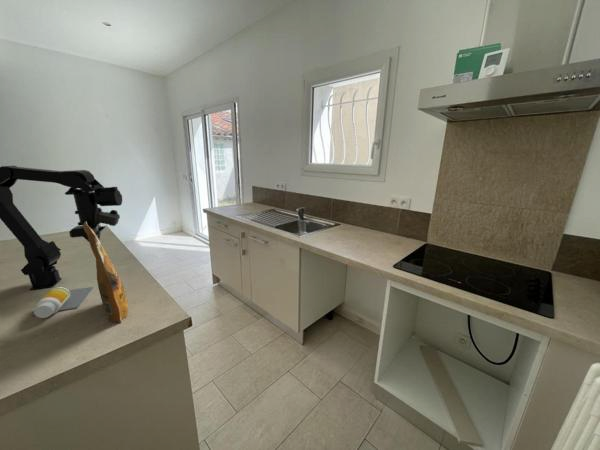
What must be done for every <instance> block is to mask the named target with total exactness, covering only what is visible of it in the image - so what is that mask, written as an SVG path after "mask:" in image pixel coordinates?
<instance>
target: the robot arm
mask: <svg viewBox="0 0 600 450" xmlns="http://www.w3.org/2000/svg"><path fill="white" fill-rule="evenodd" d="M18 180H21V181H31V182H32V181H33V182H42V183H43V182H44V183H55V184H59V185H62V186H64V187H68V190H67V191H65V193H64V194H65V195H66V196H67V195H68V196H70V195H73V198H74V204H75V207H76V210H75V211H74V214H75V215H78V219H79V221H78V222H77V226H74V227H73V228H71V229H70V230H69V232H68V233H69V236H70V238H73V239H74V238H84V239H85V240H86V242H88V243H89V244H90V242H89V240H88V236H87V233H86V232H85V231H84V229H83V224H84V223H85V222H87V225H88V226H89V227H90V228H91V229H92V230H93V231H94V233H95V235H96V236H97V238H98V239H99V241H100V242H101V233H102V231H103V230H105V228H106V226H102V225H101V224H105V225H109V226H113V227H115V226H117V224H119V220H120V218H121V215H120V214H119V213H118V211H117V210H116V209H111V210H110V211H109V212H108V211H103V209H102V208H101V207H112V206H113V207H115V206H116V207H117V206H121V205H122V204H123V196H122V193H121V192H120V190H119V189H118V186H110V187H107V186H106V187H105V186H104V185H103V184H102V183H100V181H98V180H97V179H96V178H95V176H94V175H93V173H92V172H90V171H89V170H86V169H77V170H76V169H75V170H54V169H53V170H51V169H45V168H44V169H42V168H32V167H24V166H23V167H22V166H17V165H2V166H0V220H1V221H2V223H3V224H4V225H5V227H7V229H8V230H9V231H10V233H12V235H14V237H15V238H16V239H17V240H18V242H19V243H20V244H21V245H22V247H23V250H24V251H23V252H24V253H23V254H24V257H25V259H26V261H27V263H26V264H25V265H24V266H23V267H22V268H21V269H20V272H22V274H23V275H24V276H28V278H29V281H30V283H31V287H29V291H33V290H41V289H46V288H52V287H55V286H56V285H57V284H58V283H59V282H60V281H61V280H62V277H61V276H60V273H59V270H58V269H57V268H56V266H55V265H57V263H58V260H60V258H61V255H62V253H61V250H62V249H61V248H59V247H58V245H56V243H55V241H53V240H51V241H50V242H48V241H46V240H44V239H43V238H42V237H41V236H40V235H39V234H38V233H37V231H36V230H35V228H34V227H33V226H32V225H31V224H30V223H29V221H28V219H26V218H25V216H24V215H23V214H22V212H21V211H20V210H19V209H18V208H17V206H16V205H15V203H14V198H13V197H14V194H13V192H12V191H11V188H12V187H14V185H15V184H16V183H17V182H18ZM98 205H99V206H100V207H99V206H98Z"/></svg>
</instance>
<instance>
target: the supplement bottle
mask: <svg viewBox="0 0 600 450" xmlns="http://www.w3.org/2000/svg"><path fill="white" fill-rule="evenodd" d="M69 290H70V289H68V288H65V287H60V286H57V287H54V288H51V289H50V290H49V291H48V292H47V293H46V294H45V295H44V296H43V297H42V298H41V299H40V300H39V301H38V302H37V304H36V306H35V308H34V311H33V312H34V314H35V317H38V318H40V319H45V318H48V317H51V316H52V315H53V314H56V313H58V312H57V311H58V310H59V309H60V308H61V307H62V306H63V305H64V303H65V302H66V301H67V300H68V299H69V297H70V292H69Z"/></svg>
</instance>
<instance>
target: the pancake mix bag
mask: <svg viewBox="0 0 600 450" xmlns="http://www.w3.org/2000/svg"><path fill="white" fill-rule="evenodd" d="M82 226H83V229H84V231H85V232H86V233H87V236H88V240H89V242H90V243H89V242H88V243H89V245H90V248H91V250H92V253H93V255H94V257H95V266H96V267H95V268H96V280H97V287H98V288H97V289H98V292H99V295H100V299H101V302H102V305H103V309H104V311H105V313H106V316H107V317H108V321H109V322H111V323H122V320H124V319H125V318H127V316H128V314H129V305H128V297H127V294H126V292H127V291H126V289H125V287H124V284H123V281H122V280H121V278H120V275H119V274H118V272H117V270H116V268H115V266H114V264H113V263H112V261H111V259H110V258H109V255H108V254H107V252H106V251H105V249H104V247H103V245H102V244H101V240H100V241H99V239H98V238H97V236H96V235H95V233H94V231H93V230H92V229H91V228H90V227H89V226H88V225H87V222H85V223H84V224H83V225H82Z"/></svg>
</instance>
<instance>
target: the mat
mask: <svg viewBox="0 0 600 450" xmlns="http://www.w3.org/2000/svg"><path fill="white" fill-rule="evenodd" d="M93 288H94V286H87V287H81V288H76V289H68V290H69V292H70V297H69V299H68V300H67V301H66V302H65V303H64V305H63V306H62V307H61V308H60V309H59V310H58V311H57V312H56V313H58V312H63V311H69V310H74V309H78V308H79V307H80V306H81V305H82V303H83V302H84V301H85V299H86V298H87V296H88V295H89V294H90V293H91V291H92V290H93ZM34 316H35V317H36V315H35V314H34V311H33V312H32V313H31V314H30V317H34Z"/></svg>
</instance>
